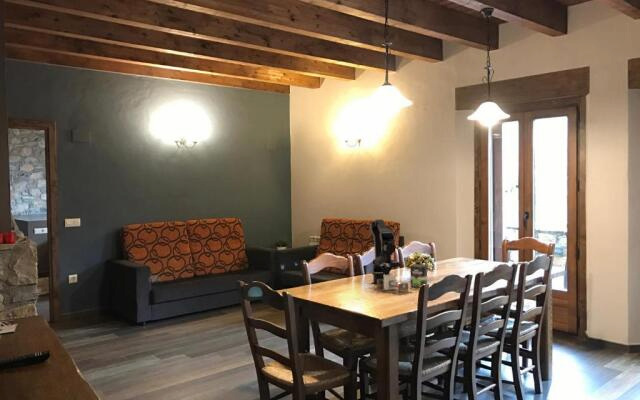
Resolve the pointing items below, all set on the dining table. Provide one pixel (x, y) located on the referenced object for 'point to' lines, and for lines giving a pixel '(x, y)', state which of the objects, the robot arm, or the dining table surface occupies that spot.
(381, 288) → the wall mounted rod holder
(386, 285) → the collar
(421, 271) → the coffee can
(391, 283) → the pipe
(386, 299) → the dining table surface
